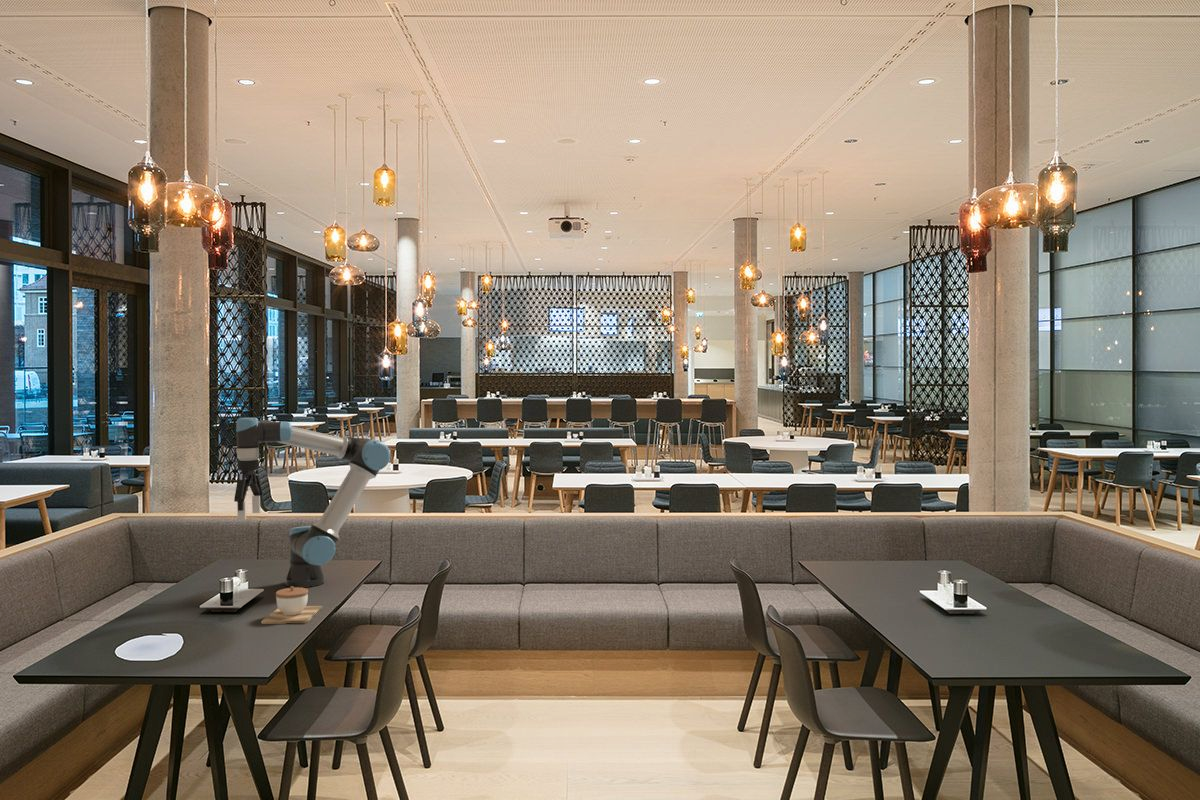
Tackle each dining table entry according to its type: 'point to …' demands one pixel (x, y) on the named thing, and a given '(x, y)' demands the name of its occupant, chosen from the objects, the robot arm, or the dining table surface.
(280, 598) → the lidded jar
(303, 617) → the wooden cutting board
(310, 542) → the robot arm
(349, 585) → the dining table surface
